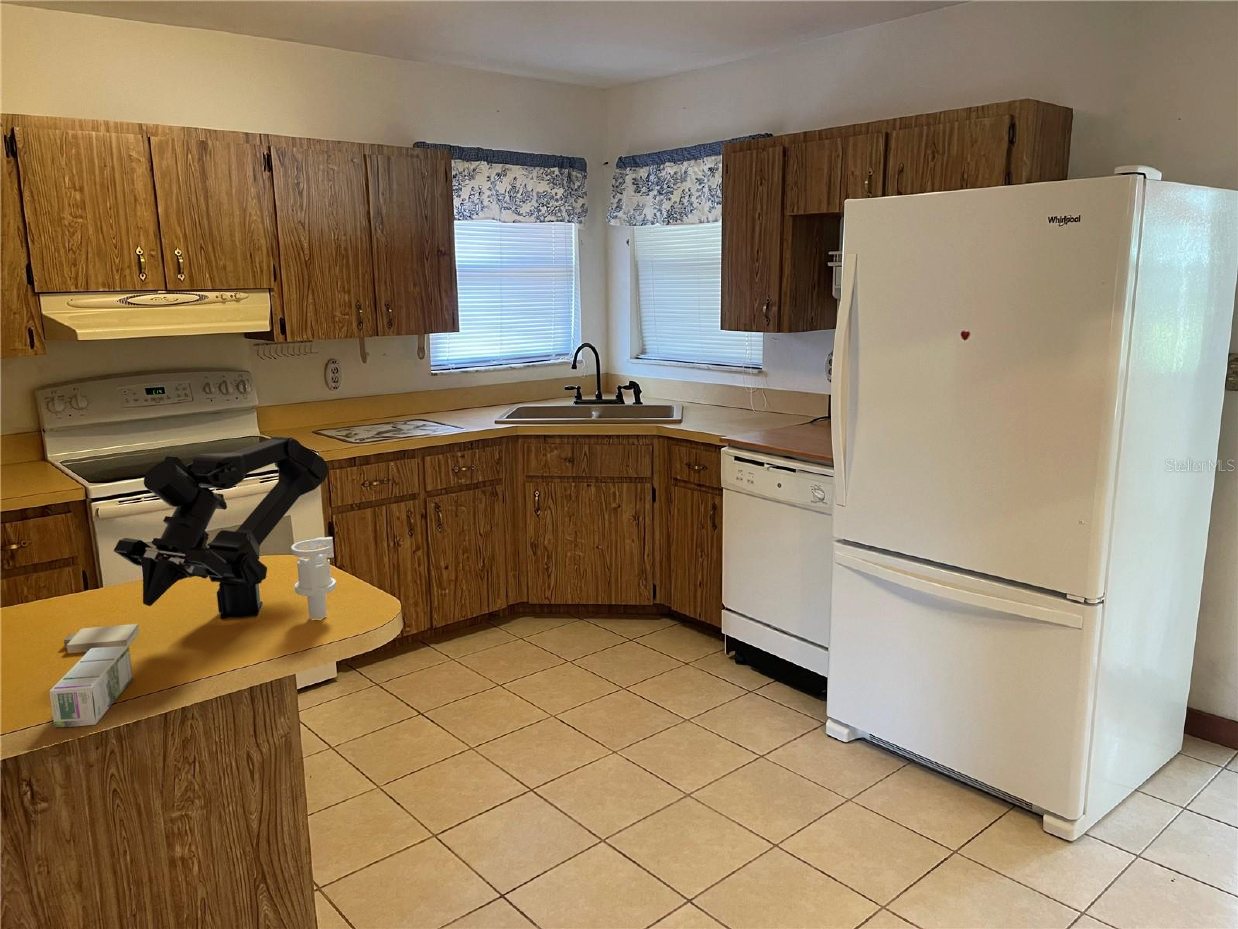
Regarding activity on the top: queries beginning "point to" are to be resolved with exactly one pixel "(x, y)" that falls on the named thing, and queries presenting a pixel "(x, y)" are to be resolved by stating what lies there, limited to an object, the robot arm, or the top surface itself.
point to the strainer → (314, 574)
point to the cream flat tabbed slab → (101, 637)
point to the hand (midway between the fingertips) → (146, 605)
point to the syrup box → (91, 686)
